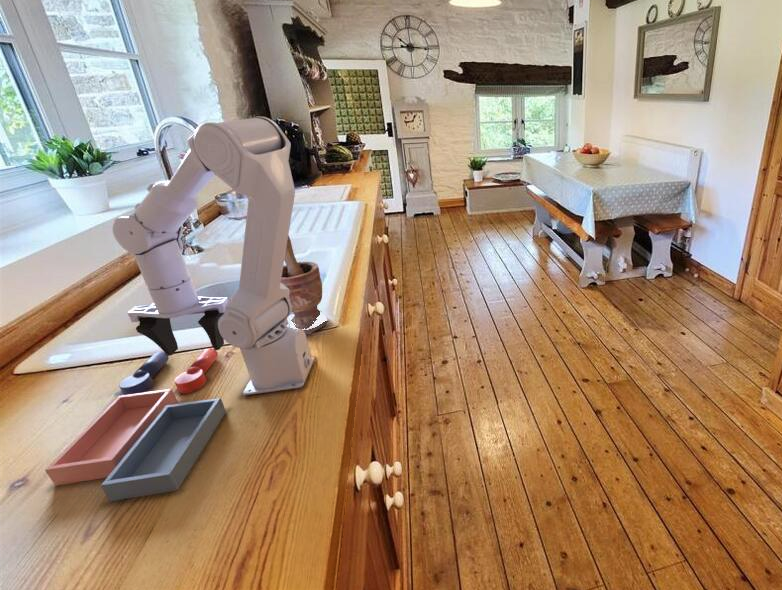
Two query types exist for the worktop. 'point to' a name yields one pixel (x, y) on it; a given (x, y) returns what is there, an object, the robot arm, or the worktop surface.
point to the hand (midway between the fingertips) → (196, 349)
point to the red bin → (109, 437)
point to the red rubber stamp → (196, 372)
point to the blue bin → (165, 450)
